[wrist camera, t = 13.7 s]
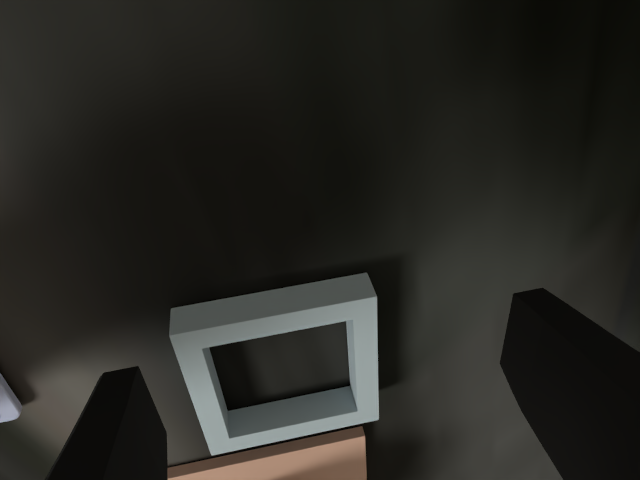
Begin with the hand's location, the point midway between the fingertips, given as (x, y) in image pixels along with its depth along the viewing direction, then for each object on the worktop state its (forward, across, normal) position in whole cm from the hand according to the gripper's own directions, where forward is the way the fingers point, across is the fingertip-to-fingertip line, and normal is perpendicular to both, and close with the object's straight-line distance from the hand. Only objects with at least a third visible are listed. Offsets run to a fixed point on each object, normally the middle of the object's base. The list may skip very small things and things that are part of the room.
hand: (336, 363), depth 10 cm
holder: (+9, +1, +10) cm, 14 cm away
